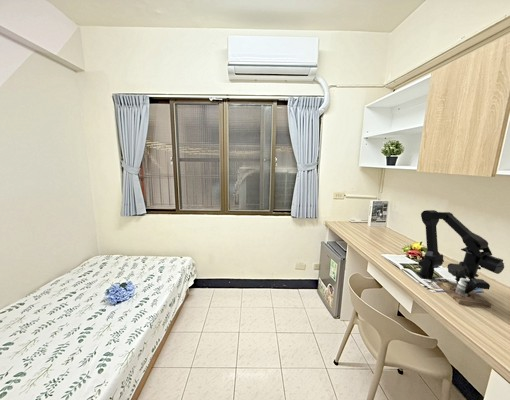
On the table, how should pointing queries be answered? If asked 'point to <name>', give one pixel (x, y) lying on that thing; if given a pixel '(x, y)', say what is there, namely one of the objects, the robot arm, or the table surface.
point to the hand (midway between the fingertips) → (462, 290)
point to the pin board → (471, 299)
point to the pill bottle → (461, 287)
